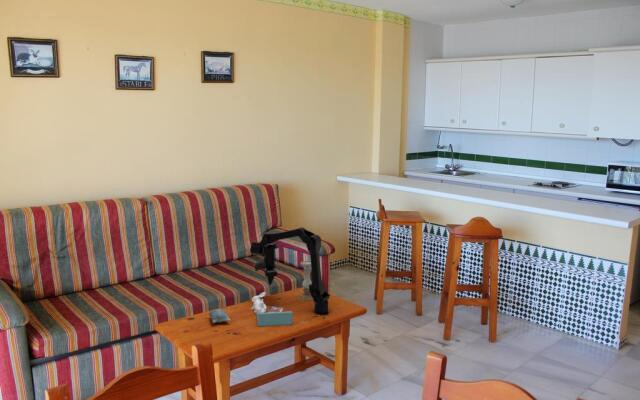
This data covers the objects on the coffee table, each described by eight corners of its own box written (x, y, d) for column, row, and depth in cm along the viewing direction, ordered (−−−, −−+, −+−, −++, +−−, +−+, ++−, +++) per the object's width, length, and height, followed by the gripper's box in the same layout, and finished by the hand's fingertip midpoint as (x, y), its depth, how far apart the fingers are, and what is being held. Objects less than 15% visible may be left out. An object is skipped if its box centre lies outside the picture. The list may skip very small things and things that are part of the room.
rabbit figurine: (249, 309, 286) (248, 291, 285) (262, 306, 290) (262, 289, 288) (258, 316, 276) (258, 297, 274) (272, 314, 279) (272, 295, 278)
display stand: (289, 316, 275) (289, 305, 274) (292, 324, 265) (292, 312, 264) (256, 318, 272) (256, 306, 272) (258, 326, 262) (258, 314, 262)
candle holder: (309, 302, 297) (309, 265, 294) (296, 299, 302) (296, 263, 299) (318, 297, 305) (318, 262, 302) (305, 295, 309) (305, 259, 306)
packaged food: (226, 315, 275) (226, 306, 275) (230, 324, 264) (230, 314, 263) (208, 317, 273) (208, 307, 272) (212, 326, 261) (211, 316, 261)
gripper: (253, 252, 298) (253, 280, 300) (255, 261, 280) (255, 290, 282) (273, 251, 300) (274, 279, 302) (277, 260, 282) (277, 289, 284)
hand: (269, 284), depth 293 cm, fingers closed
